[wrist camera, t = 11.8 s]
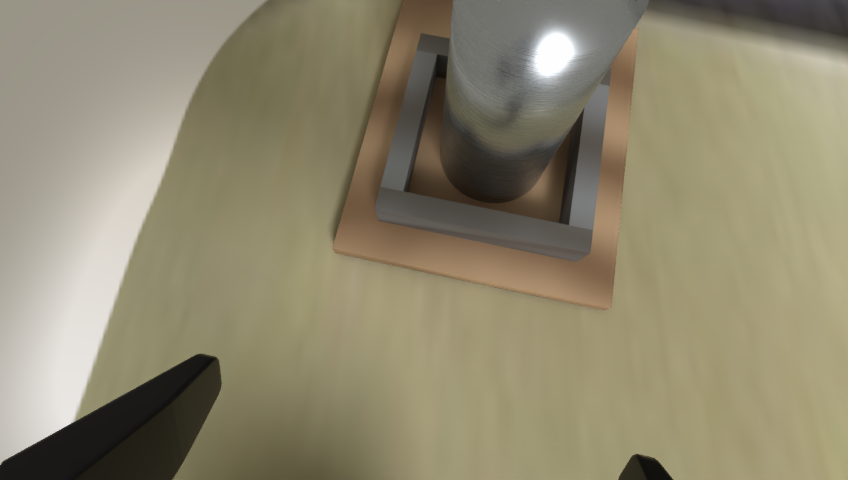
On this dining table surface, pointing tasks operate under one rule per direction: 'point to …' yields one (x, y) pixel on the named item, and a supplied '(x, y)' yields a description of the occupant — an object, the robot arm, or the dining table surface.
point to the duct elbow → (522, 85)
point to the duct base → (474, 220)
